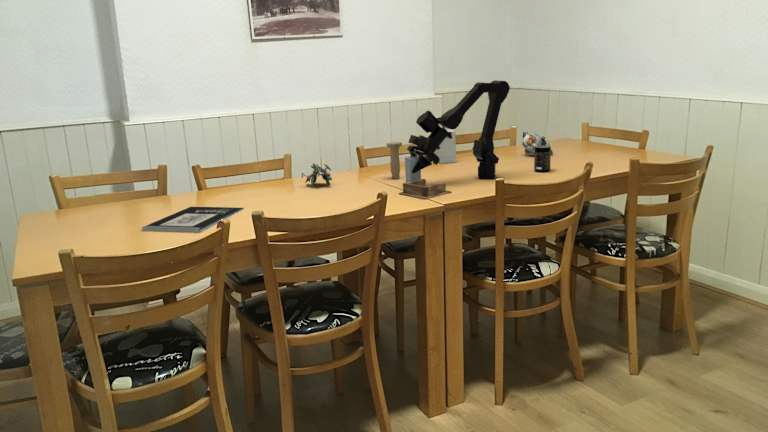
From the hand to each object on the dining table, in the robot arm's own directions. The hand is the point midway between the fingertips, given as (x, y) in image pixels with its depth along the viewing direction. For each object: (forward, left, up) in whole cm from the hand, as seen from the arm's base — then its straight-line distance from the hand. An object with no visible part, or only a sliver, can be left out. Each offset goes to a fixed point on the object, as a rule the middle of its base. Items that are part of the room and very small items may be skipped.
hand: (409, 171), depth 247 cm
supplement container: (-48, -37, -7) cm, 61 cm away
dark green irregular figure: (+39, -1, -7) cm, 40 cm away
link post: (-1, -1, -7) cm, 7 cm away
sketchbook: (+62, +54, -7) cm, 83 cm away
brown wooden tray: (-8, +8, -7) cm, 13 cm away
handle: (+11, -18, -7) cm, 22 cm away
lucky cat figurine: (-44, -75, -7) cm, 88 cm away
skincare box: (-3, -56, -7) cm, 56 cm away
